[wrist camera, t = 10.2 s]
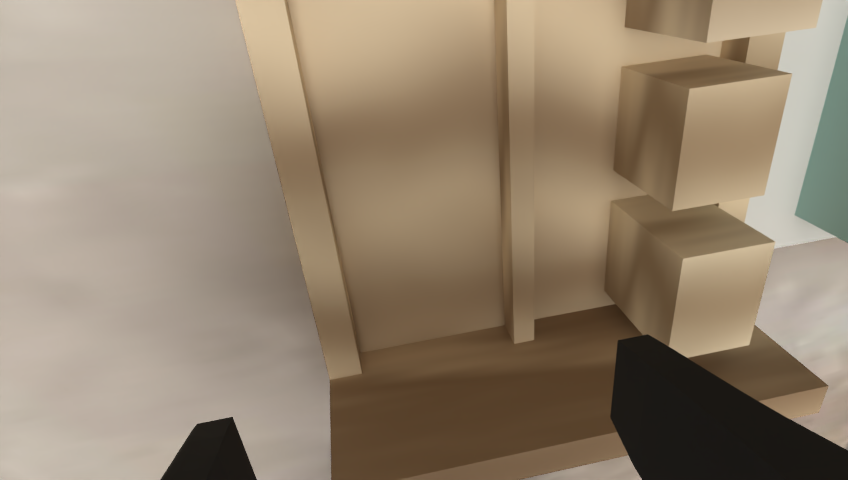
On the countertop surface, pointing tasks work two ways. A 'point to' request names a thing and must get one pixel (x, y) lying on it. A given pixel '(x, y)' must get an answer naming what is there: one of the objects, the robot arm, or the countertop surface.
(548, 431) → the rack
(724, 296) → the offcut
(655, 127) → the block
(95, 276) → the countertop surface
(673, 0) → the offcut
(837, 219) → the board
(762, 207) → the mat
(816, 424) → the countertop surface
